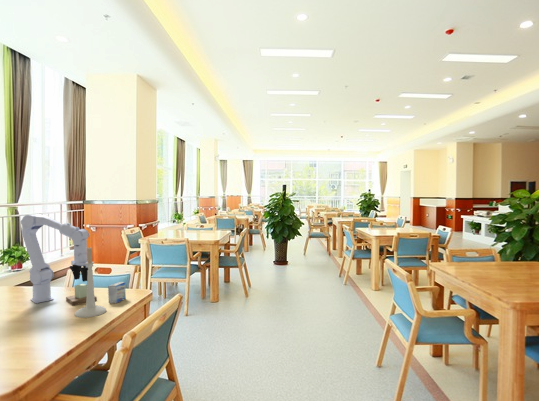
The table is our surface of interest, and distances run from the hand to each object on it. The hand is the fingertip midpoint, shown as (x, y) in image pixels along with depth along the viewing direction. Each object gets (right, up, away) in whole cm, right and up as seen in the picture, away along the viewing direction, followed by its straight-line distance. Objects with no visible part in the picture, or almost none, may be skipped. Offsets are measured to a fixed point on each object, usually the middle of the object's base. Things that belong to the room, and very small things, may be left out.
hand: (81, 280), depth 178 cm
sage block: (0, -9, 0) cm, 9 cm away
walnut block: (0, -11, 0) cm, 11 cm away
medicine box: (+18, -11, -1) cm, 21 cm away
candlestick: (+14, -11, -18) cm, 26 cm away
